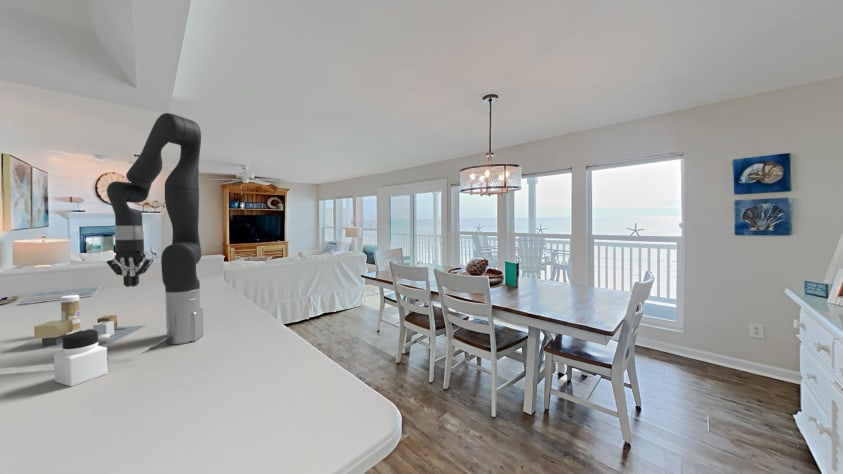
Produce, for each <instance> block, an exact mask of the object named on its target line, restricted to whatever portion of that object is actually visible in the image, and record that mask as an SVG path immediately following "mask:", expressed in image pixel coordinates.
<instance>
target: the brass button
mask: <svg viewBox="0 0 843 474" xmlns="http://www.w3.org/2000/svg"><path fill="white" fill-rule="evenodd" d="M72 332H74V330H73V328H72V320H62V319H61V320H50V321H47V322H44V323H41V324H37V325H35V326H33V333H34V339H35V340H37V339H38V340H39V339H42V338H54V337H59V336H62V335H64V334H66V335H67V334H69V333H72Z"/></svg>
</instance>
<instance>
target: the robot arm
mask: <svg viewBox="0 0 843 474" xmlns="http://www.w3.org/2000/svg"><path fill="white" fill-rule="evenodd" d="M168 143H171V144H173V145H177V146H180V156H179V161H178V163H177V164H176V166H175V167H174V168H173V170H172V171H171V172H170V173H169V175H168V176H167V178H166V179H165V181H164V202H165V203H164V204H165V209H166V210H167V211H166V212H167V214H168V218H169V219H170V222H171V227H172V228H171V229H172V239H171V240H172V241H171V242H172V243H171V244H169V245H167V247H165V248H164V249H163V251H162V253H161V259H160V260H161V261H160V264H161V277H162V283H163V285H164V289H165V318H166V321H165V322H166V325H165V326H166V343H167V344H168V345H181V344H186V343H191V341H192V342H197V341H198V340H199V339H200V338H202V337H203V336H204V335H203V334H204V309H203V308H201V290H200V289H201V286H200V284H201V283H200V279H198V276H197V275H198V274H197V264H198V263H200V261H201V258H202V248H201V241H200V235H199V234H200V233H199V221H200V220H199V218H200V216H199V215H200V188H199V187H200V185H199V175H200V174H199V173H200V172H199V171H200V169H199V167H200V165H199V164H200V155H201V154H200V153H201V147H202V146H201V144H202V131H201V128H200V126H199V124H198V123H197V122H195V121H194V120H191V119H189V118H186V117H182V116H179V115H177V114H174V113H169V112H165V113H162V114H161V115H159V117H157V118H156V120H155V122H154V124H153V126H152V128H151V130H150V133H149V135H148V137H147V138H146V142H145V144H144V146H143V148H142V150H141V152H140V155H138V157H137V159H136V160H135V162H133V164H132V165H131V167H130V168H129V169H128V170H127V172H126V174H125V176H126V179H127V180H128V181H129V182H126V181H115V180H114V181H112V182H111V183H109V184H108V185H107V188H106V195H107V197H108V200H109V203H110V206H111V207H112V211H113V213H114V218H115V219H114V220H115V222H114V224H115V229H114V249H115V253H116V254H115V255H114V258H112V259H110V260H107V261H106V264H107V265H108V266H109V267H110V268H111V270H112V271H113V272H114V273H115V274H116V276H122V277H123V279H122V280H123V285H124V286H125V288H130V287H132V288H133V287H137V286H138V285H140V275H143V274H145V273H146V272H147V270H148V269H150V267H151V265H152V264H153V262H154V259H152V258H148V257H147V256H146V254H145V235H144V228H143V227H144V226H143V213H142V211H141V210H139V209H135V208H131V207H130V206H129V204H128V203H134V204H135V203H136V204H138V203H143V202H145V201H146V200H148V198H149V195H150V191H151V187H152V184H153V183H154V181H155V180H156V179H157V177H158V176H159V175H160V173H161V172H162V169H163V158H162V150H163V149H164V148H165V146H166V145H167V144H168ZM141 263H142V265H141ZM202 335H203V336H202ZM201 336H202V337H201ZM199 337H200V338H199ZM198 338H199V339H198ZM197 339H198V340H197Z"/></svg>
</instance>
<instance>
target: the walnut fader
mask: <svg viewBox="0 0 843 474" xmlns="http://www.w3.org/2000/svg"><path fill="white" fill-rule="evenodd" d="M96 320H97V323H100V322H107V321H114V329H115V328H117V327H118V316H117V314H115V315H103V316H100V317H98V318H97V319H96Z"/></svg>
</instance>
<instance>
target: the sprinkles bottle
mask: <svg viewBox="0 0 843 474" xmlns="http://www.w3.org/2000/svg"><path fill="white" fill-rule="evenodd" d="M59 299H60V300H59V301H60V306H61V309H60V310H61V311H60V314H61V316H60V317H61V320H72V328H73V331H74V330H78V329H80V328H81V317H80V316H81V315H80V314H81V312H80V295H79V294H72V295H69V294H68V295H63V296H61V297H60V298H59Z"/></svg>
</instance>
